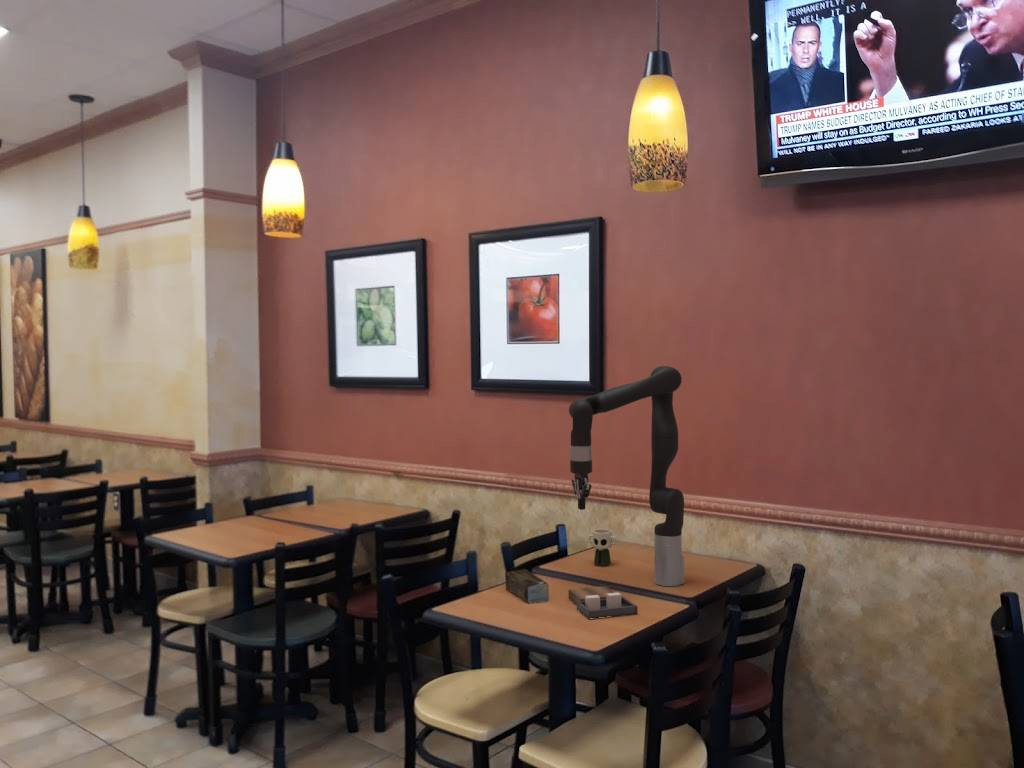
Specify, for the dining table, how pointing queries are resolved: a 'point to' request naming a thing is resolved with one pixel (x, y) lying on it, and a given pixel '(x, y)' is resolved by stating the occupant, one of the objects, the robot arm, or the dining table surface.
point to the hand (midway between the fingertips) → (581, 509)
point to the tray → (608, 609)
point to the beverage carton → (527, 586)
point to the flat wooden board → (588, 593)
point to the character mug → (602, 545)
